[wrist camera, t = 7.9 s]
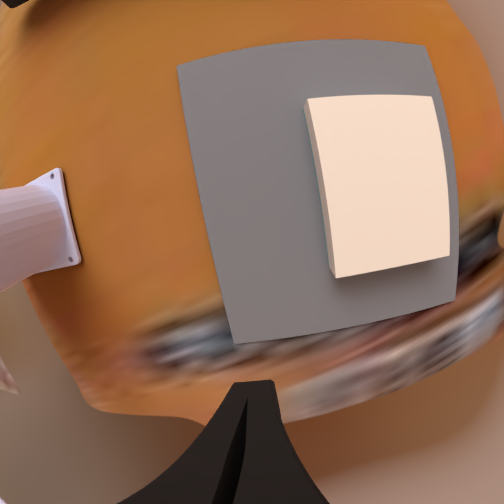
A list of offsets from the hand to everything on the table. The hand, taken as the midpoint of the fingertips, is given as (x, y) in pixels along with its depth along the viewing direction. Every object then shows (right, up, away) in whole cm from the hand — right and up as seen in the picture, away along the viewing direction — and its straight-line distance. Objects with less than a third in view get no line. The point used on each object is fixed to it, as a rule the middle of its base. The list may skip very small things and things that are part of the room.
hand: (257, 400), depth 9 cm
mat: (+6, +9, +8) cm, 13 cm away
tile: (+4, +9, +6) cm, 11 cm away
